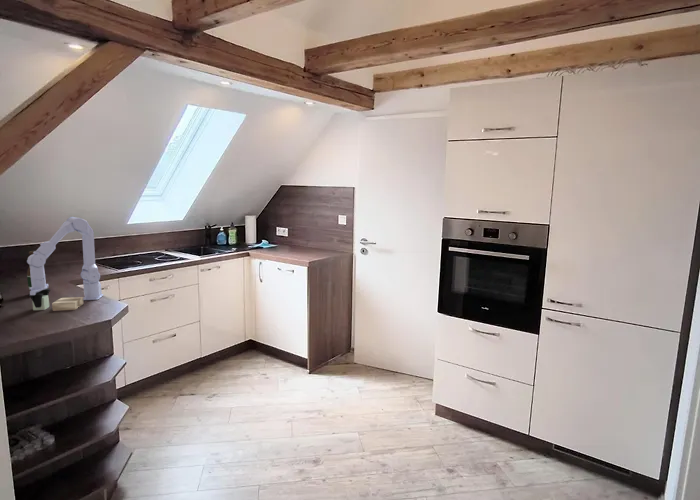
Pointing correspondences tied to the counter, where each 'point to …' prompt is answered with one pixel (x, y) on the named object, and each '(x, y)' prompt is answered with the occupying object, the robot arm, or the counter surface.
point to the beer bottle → (29, 274)
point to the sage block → (43, 303)
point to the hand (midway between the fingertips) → (41, 305)
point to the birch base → (67, 303)
